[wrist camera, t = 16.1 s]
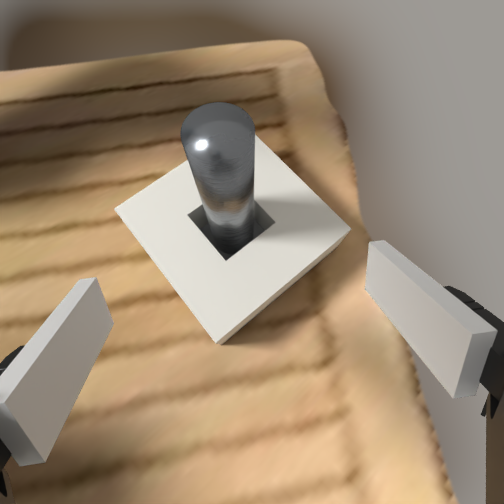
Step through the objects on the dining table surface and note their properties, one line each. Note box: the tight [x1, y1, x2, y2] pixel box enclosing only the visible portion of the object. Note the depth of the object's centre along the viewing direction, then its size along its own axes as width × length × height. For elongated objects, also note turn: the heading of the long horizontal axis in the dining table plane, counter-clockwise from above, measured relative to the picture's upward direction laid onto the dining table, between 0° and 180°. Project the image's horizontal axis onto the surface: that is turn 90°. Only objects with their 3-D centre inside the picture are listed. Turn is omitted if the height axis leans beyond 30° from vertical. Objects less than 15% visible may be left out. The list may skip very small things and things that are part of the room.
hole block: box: [114, 135, 351, 345], centre depth 29 cm, size 15×15×5 cm
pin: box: [181, 102, 255, 255], centre depth 23 cm, size 4×4×15 cm
